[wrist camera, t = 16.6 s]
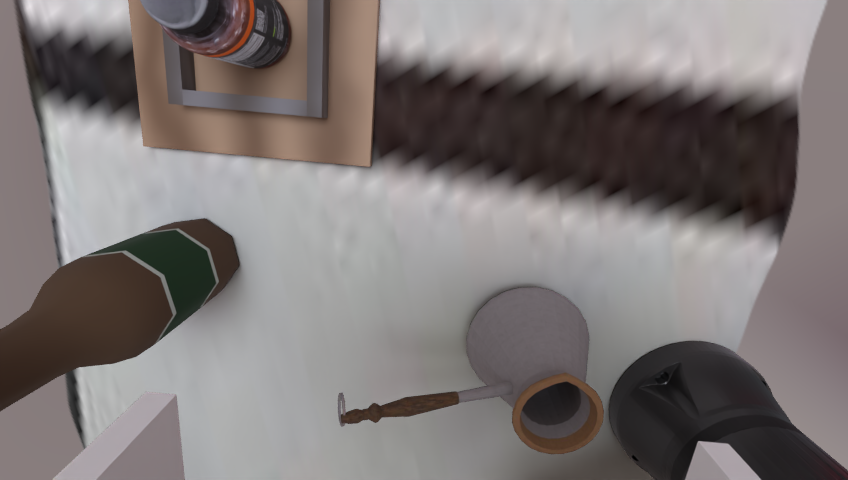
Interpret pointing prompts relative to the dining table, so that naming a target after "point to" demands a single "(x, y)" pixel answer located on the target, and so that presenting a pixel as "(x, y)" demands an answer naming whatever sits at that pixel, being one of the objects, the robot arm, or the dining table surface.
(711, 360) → the robot arm
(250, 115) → the holder board
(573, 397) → the coffee pot
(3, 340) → the beer bottle
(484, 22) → the dining table surface
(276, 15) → the supplement bottle
